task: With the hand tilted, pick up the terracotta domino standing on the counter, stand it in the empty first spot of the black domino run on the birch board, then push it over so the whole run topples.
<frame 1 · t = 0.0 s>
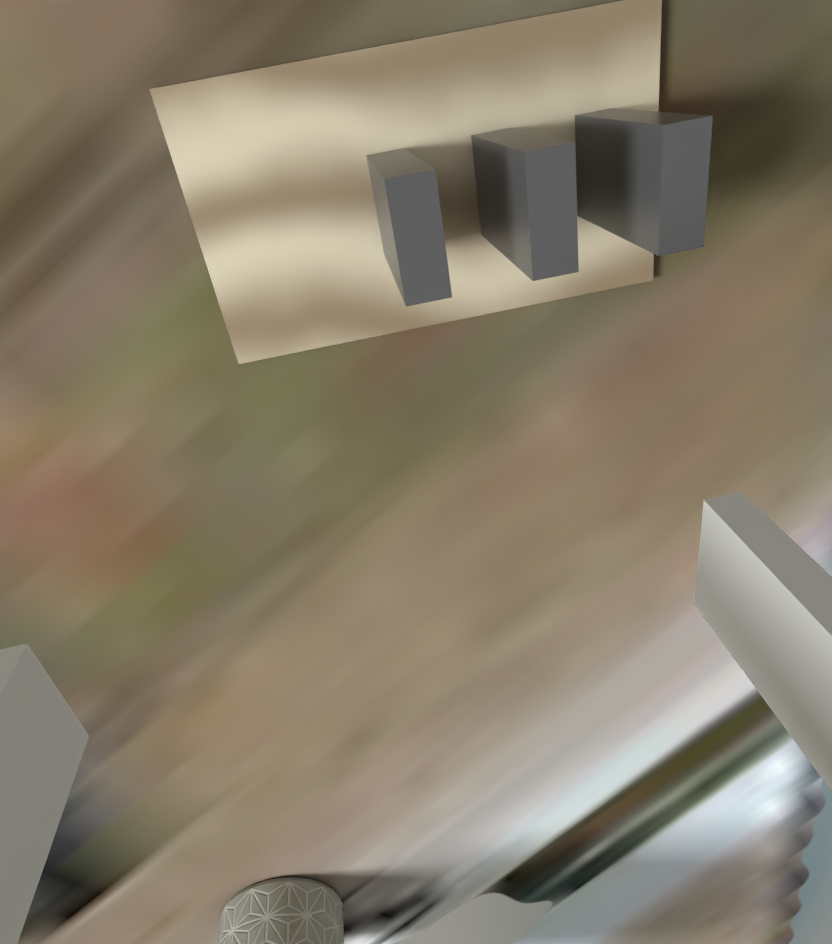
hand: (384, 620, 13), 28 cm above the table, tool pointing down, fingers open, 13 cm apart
lamp: (283, 906, 70), on the table
birch board: (428, 194, 35), on the table
black tile 1: (393, 203, 35), point 1 cm above the table, touching birch board
black tile 2: (494, 183, 35), point 1 cm above the table, touching birch board
black tile 3: (594, 163, 35), point 1 cm above the table, touching birch board
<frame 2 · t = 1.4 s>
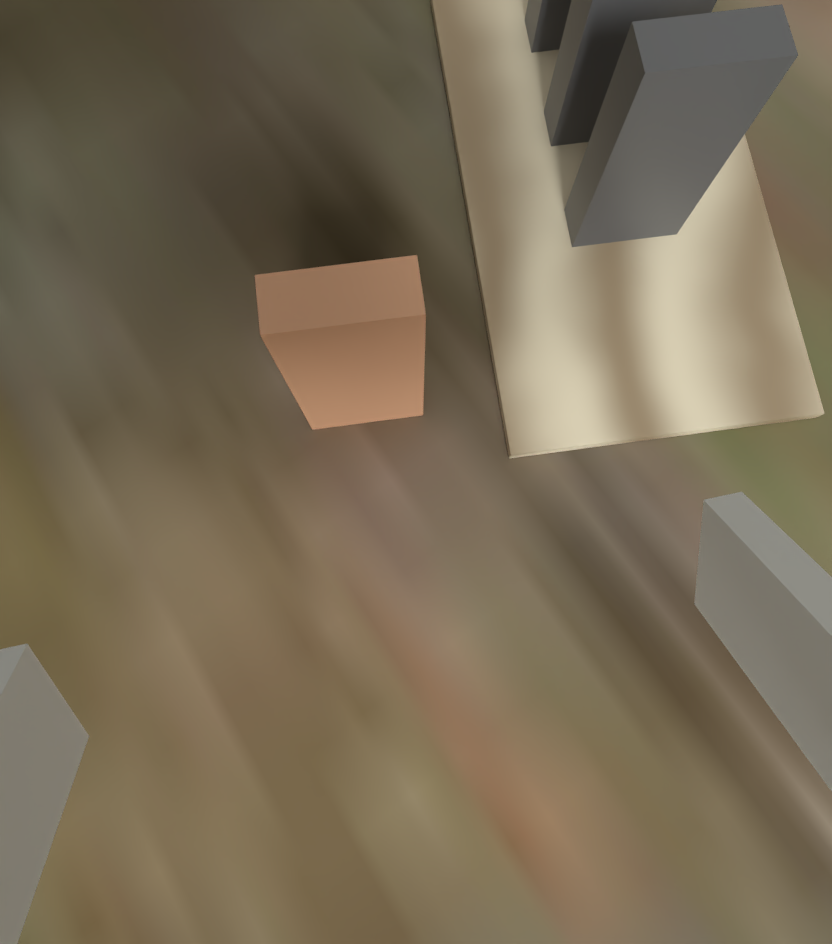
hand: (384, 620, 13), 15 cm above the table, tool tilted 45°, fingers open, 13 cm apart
birch board: (608, 193, 32), on the table
black tile 1: (620, 221, 31), point 1 cm above the table, touching birch board
black tile 2: (597, 122, 32), point 1 cm above the table, touching birch board
black tile 3: (576, 30, 33), point 1 cm above the table, touching birch board
terracotta tile: (365, 401, 30), on the table
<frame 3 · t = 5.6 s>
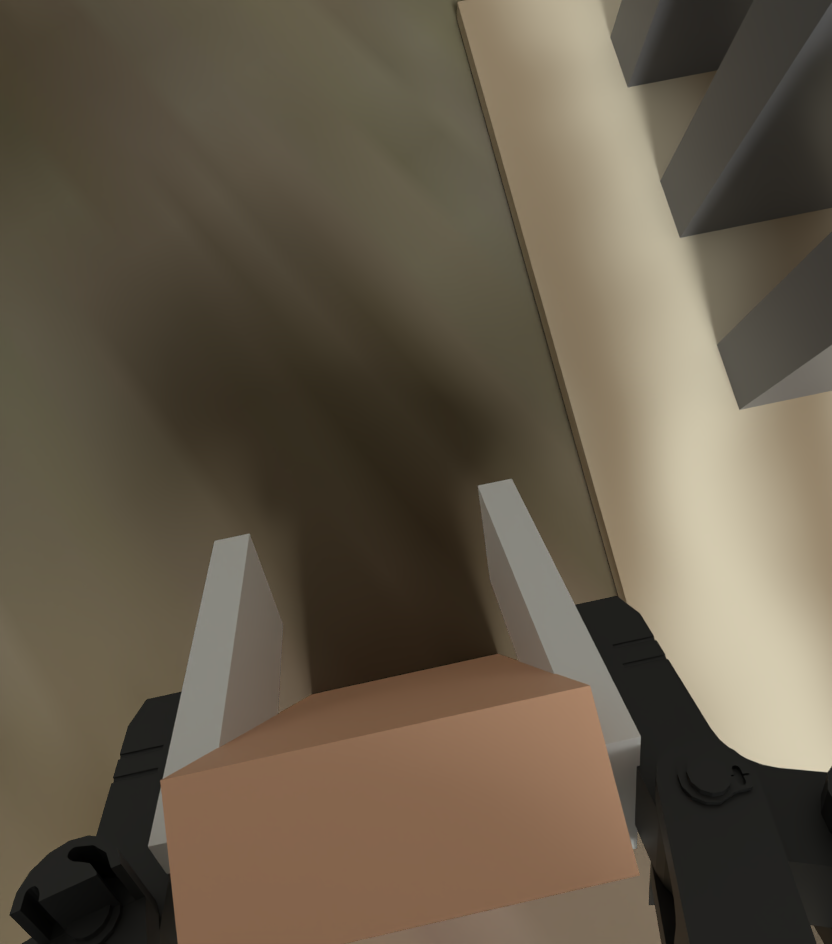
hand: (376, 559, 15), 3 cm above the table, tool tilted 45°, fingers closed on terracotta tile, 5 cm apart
birch board: (778, 306, 19), on the table
black tile 1: (813, 359, 18), point 1 cm above the table, touching birch board
black tile 2: (749, 193, 20), point 1 cm above the table, touching birch board
black tile 3: (694, 47, 21), point 1 cm above the table, touching birch board
terracotta tile: (413, 713, 17), on the table, touching gripper
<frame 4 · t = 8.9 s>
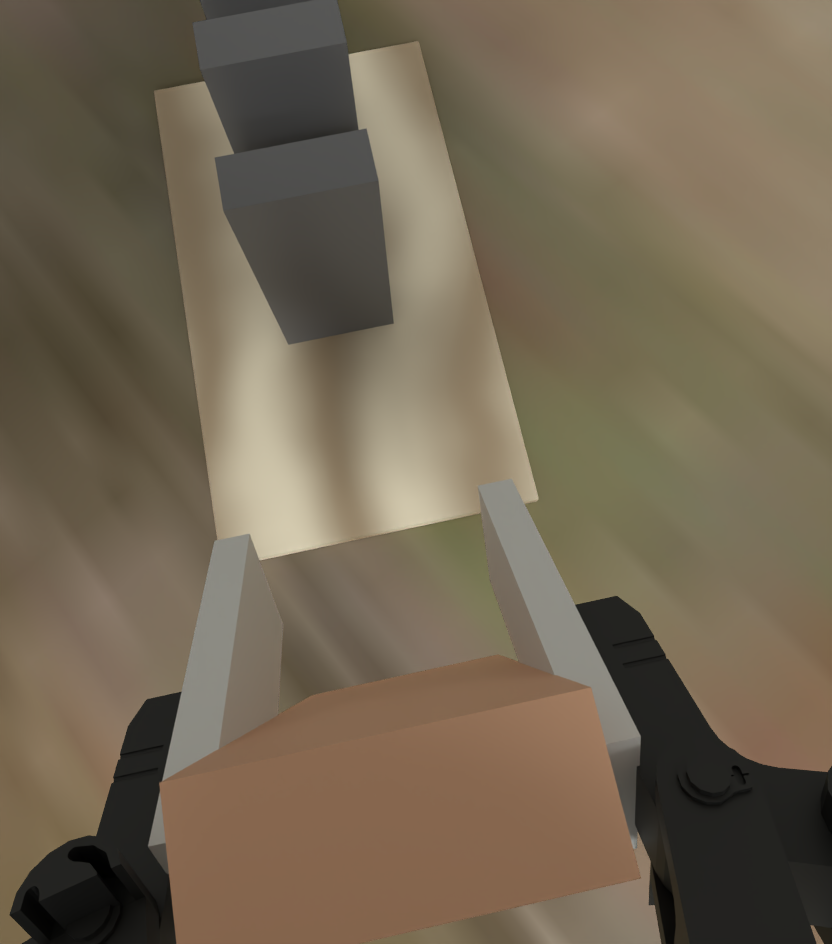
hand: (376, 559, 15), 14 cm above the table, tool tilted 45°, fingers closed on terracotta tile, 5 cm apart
birch board: (331, 283, 32), on the table
black tile 1: (337, 314, 31), point 1 cm above the table, touching birch board
black tile 2: (317, 214, 32), point 1 cm above the table, touching birch board
black tile 3: (298, 121, 33), point 1 cm above the table, touching birch board
terracotta tile: (413, 714, 17), point 11 cm above the table, touching gripper
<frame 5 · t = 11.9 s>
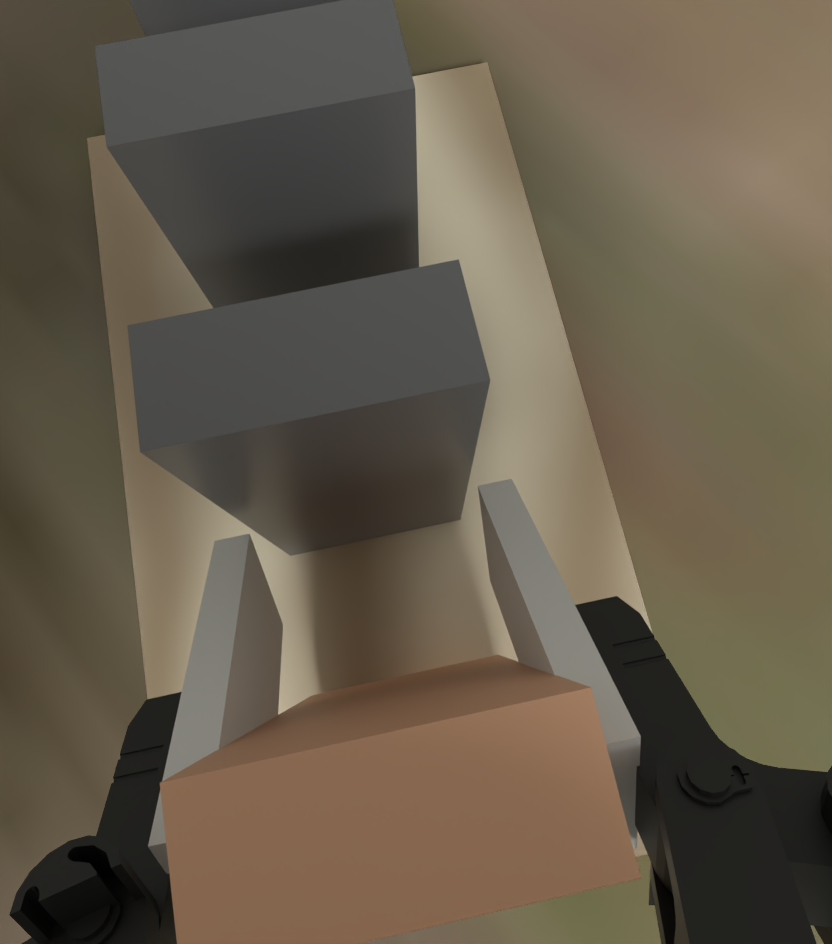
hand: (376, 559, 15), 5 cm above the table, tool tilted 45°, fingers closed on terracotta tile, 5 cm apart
birch board: (358, 446, 20), on the table
black tile 1: (369, 504, 19), point 1 cm above the table, touching birch board, gripper
black tile 2: (335, 335, 20), point 1 cm above the table, touching birch board
black tile 3: (306, 185, 22), point 1 cm above the table, touching birch board
terracotta tile: (413, 714, 17), point 1 cm above the table, touching gripper
when the fingers open (5 cm above the table, at t = 12.4 s): terracotta tile stays where it is, resting on birch board.
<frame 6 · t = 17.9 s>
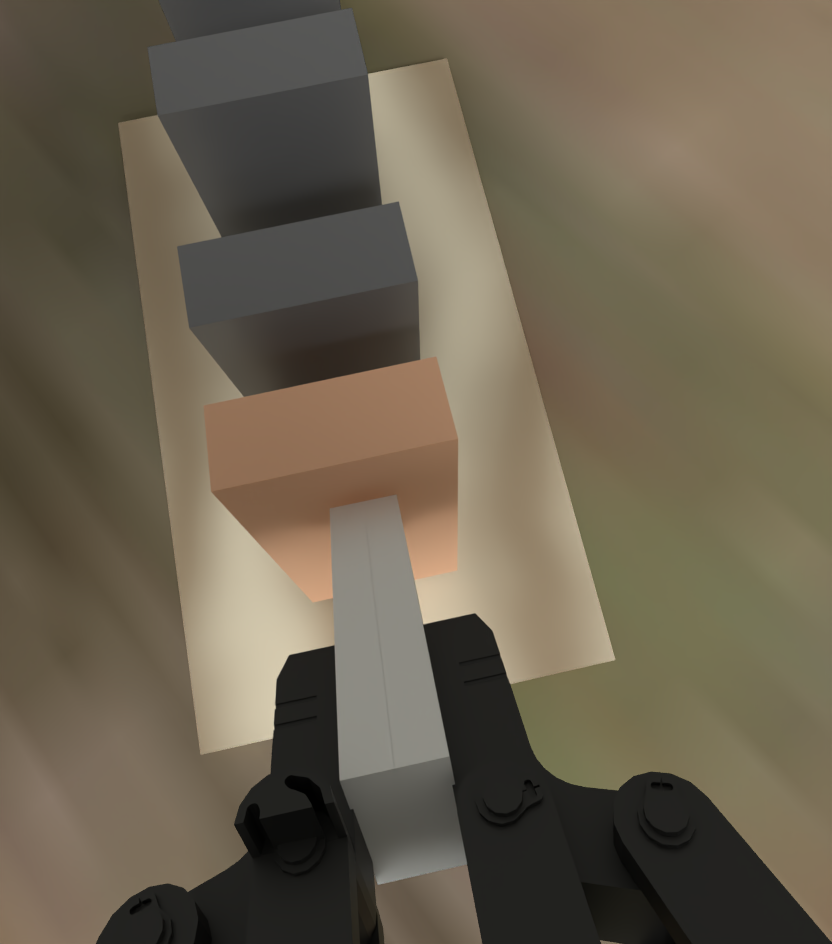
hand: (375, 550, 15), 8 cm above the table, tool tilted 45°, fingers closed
birch board: (341, 368, 25), on the table
black tile 1: (349, 411, 24), point 1 cm above the table, touching birch board
black tile 2: (322, 279, 25), point 1 cm above the table, touching birch board
black tile 3: (298, 160, 26), point 1 cm above the table, touching birch board
terracotta tile: (379, 558, 22), point 1 cm above the table, tilted 10°, touching birch board
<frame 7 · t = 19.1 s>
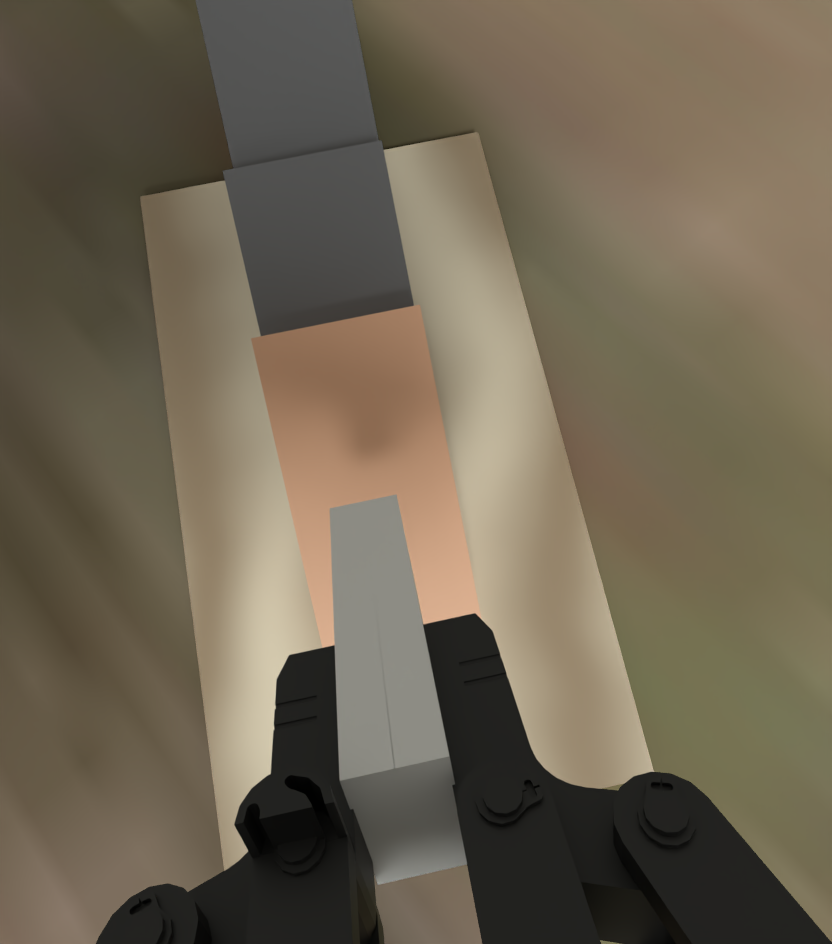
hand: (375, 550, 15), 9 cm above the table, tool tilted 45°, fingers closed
birch board: (369, 457, 24), on the table
black tile 1: (369, 465, 23), point 2 cm above the table, tilted 68°, touching birch board, black tile 2, terracotta tile
black tile 2: (335, 292, 24), point 2 cm above the table, tilted 68°, touching black tile 1, black tile 3
terracotta tile: (403, 632, 21), point 2 cm above the table, tilted 69°, touching birch board, black tile 1
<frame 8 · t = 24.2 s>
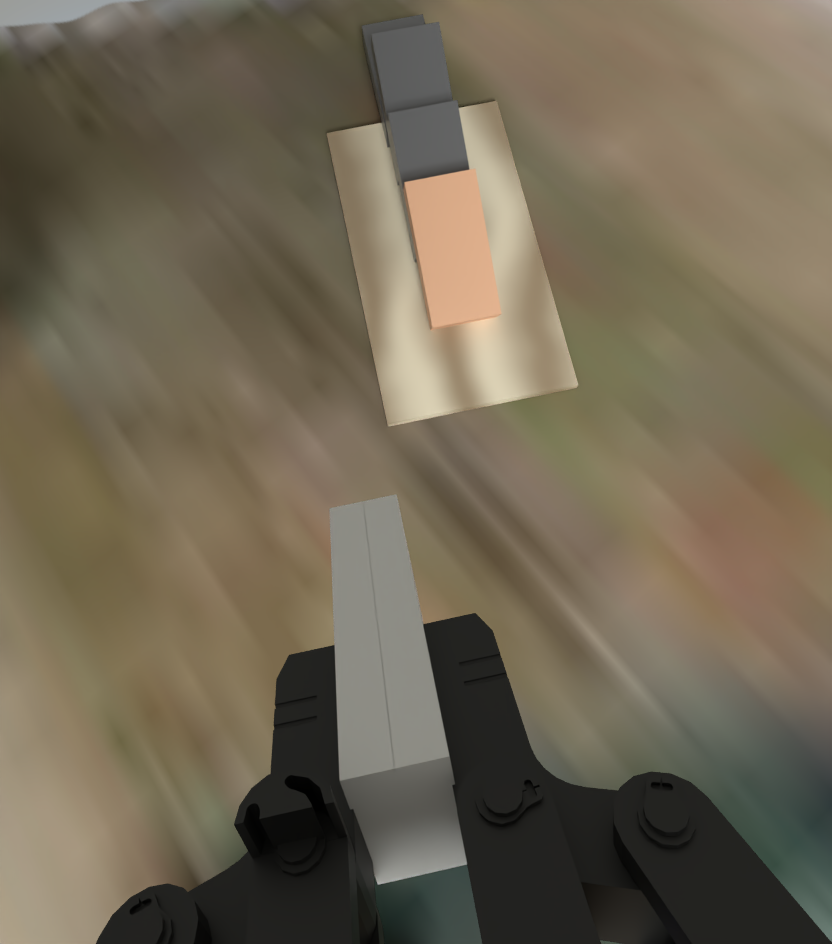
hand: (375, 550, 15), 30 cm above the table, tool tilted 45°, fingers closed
birch board: (445, 256, 50), on the table
black tile 1: (448, 253, 49), point 2 cm above the table, tilted 68°, touching birch board, black tile 2, terracotta tile
black tile 2: (430, 175, 50), point 2 cm above the table, tilted 68°, touching black tile 1, black tile 3
black tile 3: (418, 132, 51), point 2 cm above the table, tilted 90°, touching birch board, black tile 2
terracotta tile: (465, 322, 47), point 2 cm above the table, tilted 69°, touching birch board, black tile 1
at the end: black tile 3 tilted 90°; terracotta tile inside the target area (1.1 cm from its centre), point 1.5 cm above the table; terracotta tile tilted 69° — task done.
